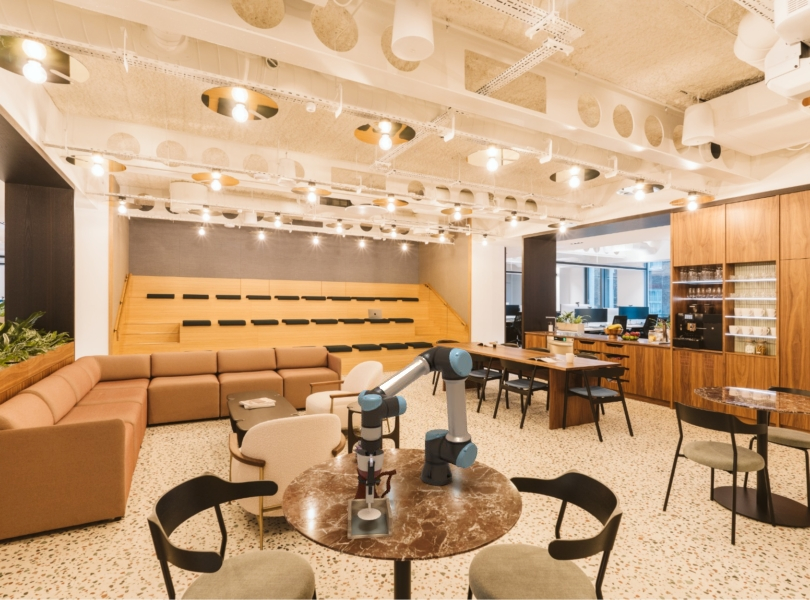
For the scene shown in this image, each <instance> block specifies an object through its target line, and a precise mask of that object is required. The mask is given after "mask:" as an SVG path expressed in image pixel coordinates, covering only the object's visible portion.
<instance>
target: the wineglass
mask: <svg viewBox="0 0 810 600" xmlns="http://www.w3.org/2000/svg"><path fill="white" fill-rule="evenodd" d="M375 451H376V456H365V452H367V450H363V449H360V450H358V451H357V457H356V458H357V459H356V460H357V468H359V472H360V474H361V475H362V476H363V477H365V478H367V476H368V461H370V458H373V461H375V470H374V478H375V477H377V476H378V475H379V474H380V473H382V469H383V465H384V459H385V458H384V457H385V451H384V450H383V449H381V448H379V449H378V450H375ZM380 515H381V512H380V511H379V510H377V509H374V508H371V503H368V508H366V509H362V510H360V511H359V512H358V516H359V517H360V518H361V519H364V520H373V519H377V518H378V517H380Z"/></svg>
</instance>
